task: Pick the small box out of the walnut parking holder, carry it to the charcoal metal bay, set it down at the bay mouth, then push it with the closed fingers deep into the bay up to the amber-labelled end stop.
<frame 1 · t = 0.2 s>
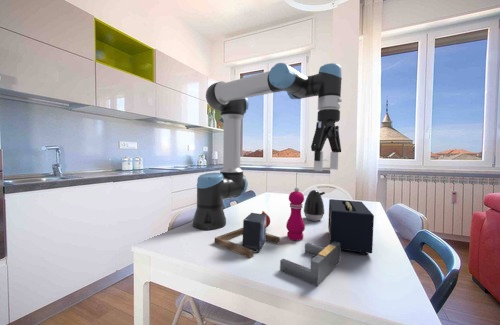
hand: (326, 170, 78), 28 cm above the table, tool pointing down, fingers open, 13 cm apart
black toaster: (346, 243, 83), on the table
small box: (254, 246, 78), on the table
onion: (263, 229, 96), on the table
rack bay: (312, 266, 64), on the table
pepper mill: (295, 238, 87), on the table
pump dispenser: (313, 219, 112), on the table
parking holder: (254, 245, 78), on the table
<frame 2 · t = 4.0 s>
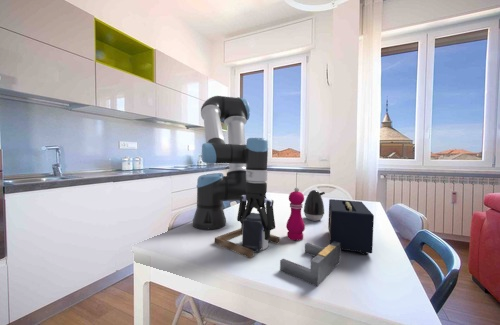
hand: (254, 244, 78), 0 cm above the table, tool pointing down, fingers closed on small box, 8 cm apart
small box: (254, 246, 78), on the table, touching gripper
everything else where it was.
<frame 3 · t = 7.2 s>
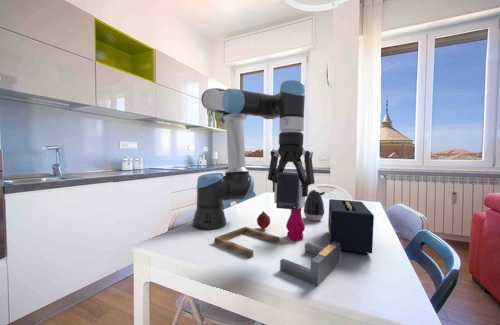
hand: (289, 204, 69), 17 cm above the table, tool pointing down, fingers closed on small box, 8 cm apart
small box: (289, 206, 69), point 16 cm above the table, touching gripper
everything else where it was.
when the fingers open (2 cm above the table, at t = 10.4 s): small box drops 1 cm, on the table.
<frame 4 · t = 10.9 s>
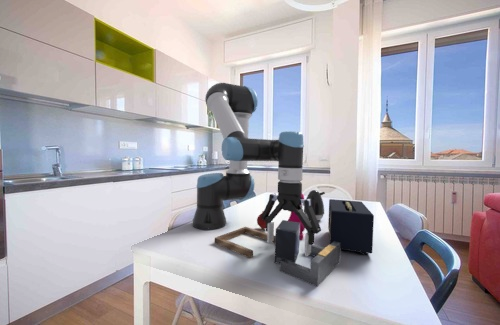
hand: (287, 247, 70), 3 cm above the table, tool pointing down, fingers open, 13 cm apart
small box: (287, 258, 70), on the table
everything else where it was.
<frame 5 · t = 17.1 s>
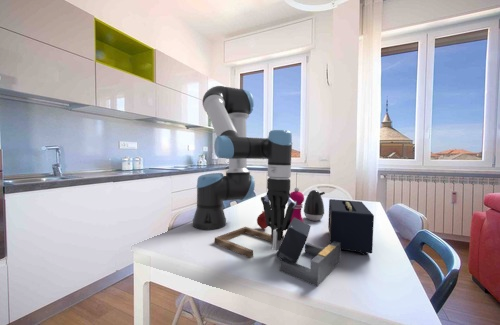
hand: (276, 249, 72), 2 cm above the table, tool pointing down, fingers closed
small box: (288, 255, 70), point 1 cm above the table, touching gripper, hand
everything else where it was.
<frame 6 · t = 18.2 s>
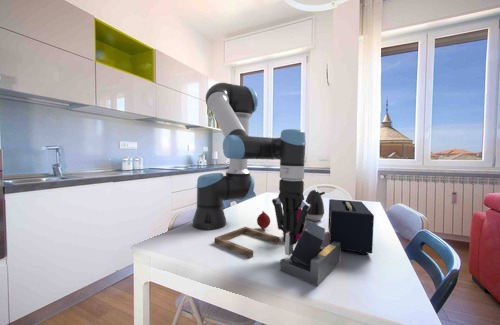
hand: (289, 253, 69), 2 cm above the table, tool pointing down, fingers closed
small box: (301, 259, 67), point 1 cm above the table, touching gripper, hand
everything else where it was.
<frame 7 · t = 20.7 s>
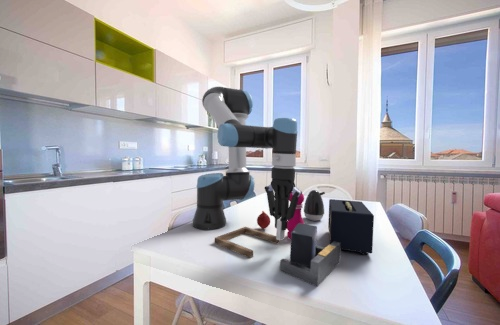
hand: (280, 238, 72), 5 cm above the table, tool pointing down, fingers closed
small box: (303, 263, 67), on the table
everything else where it was.
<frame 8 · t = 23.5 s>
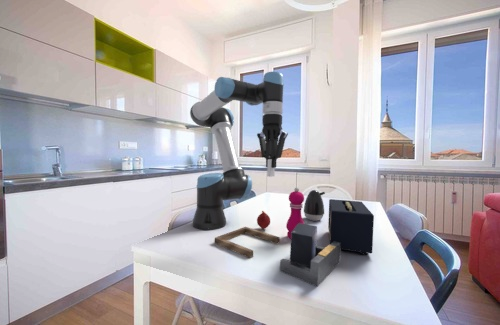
hand: (270, 176, 84), 24 cm above the table, tool pointing down, fingers closed
nothing on the table moved.
at the end: small box inside the target area on the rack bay (1.4 cm from its centre), point 0.0 cm above the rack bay's base; small box tilted 0°; the gripper is holding nothing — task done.
